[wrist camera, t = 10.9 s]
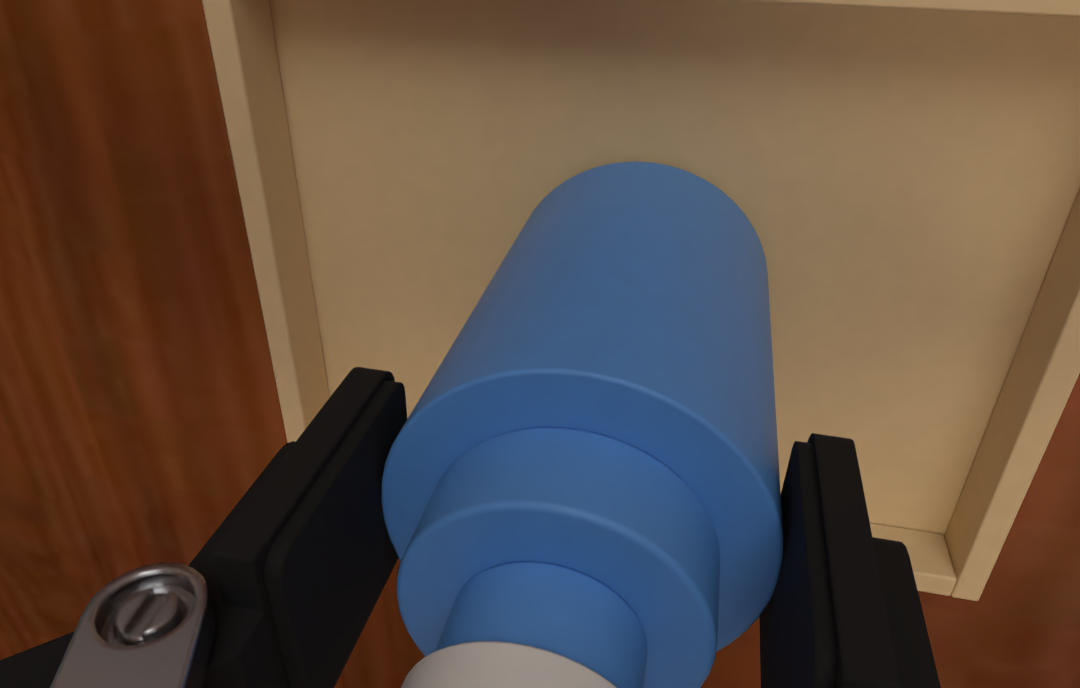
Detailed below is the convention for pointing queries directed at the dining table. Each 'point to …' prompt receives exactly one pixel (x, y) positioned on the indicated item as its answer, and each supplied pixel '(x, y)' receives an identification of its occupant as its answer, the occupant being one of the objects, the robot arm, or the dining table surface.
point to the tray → (724, 161)
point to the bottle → (596, 449)
